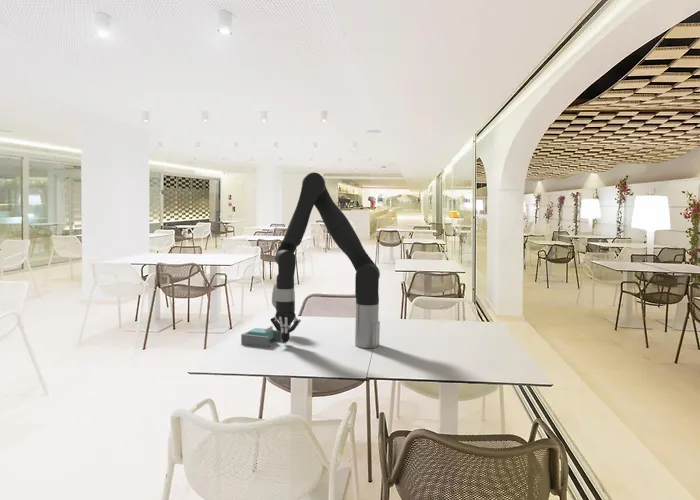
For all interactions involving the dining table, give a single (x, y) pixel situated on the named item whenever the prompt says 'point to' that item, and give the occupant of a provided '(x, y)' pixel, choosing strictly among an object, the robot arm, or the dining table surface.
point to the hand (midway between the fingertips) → (285, 341)
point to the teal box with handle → (263, 332)
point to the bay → (260, 339)
